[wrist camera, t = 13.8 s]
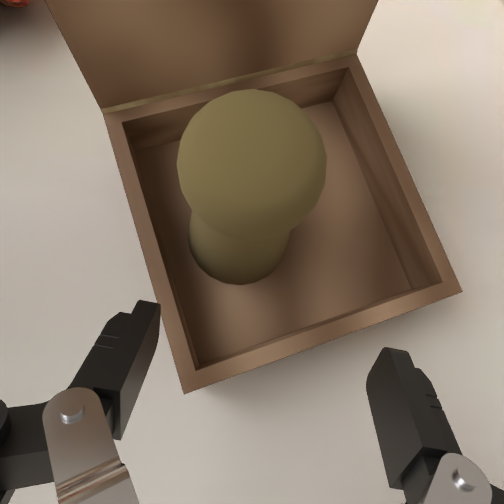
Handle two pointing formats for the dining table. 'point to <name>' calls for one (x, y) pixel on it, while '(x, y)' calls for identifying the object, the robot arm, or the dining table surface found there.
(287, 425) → the dining table surface
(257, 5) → the box lid
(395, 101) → the dining table surface
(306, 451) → the dining table surface
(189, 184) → the olive tapered rounded piece
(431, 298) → the walnut box
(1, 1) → the pomegranate
